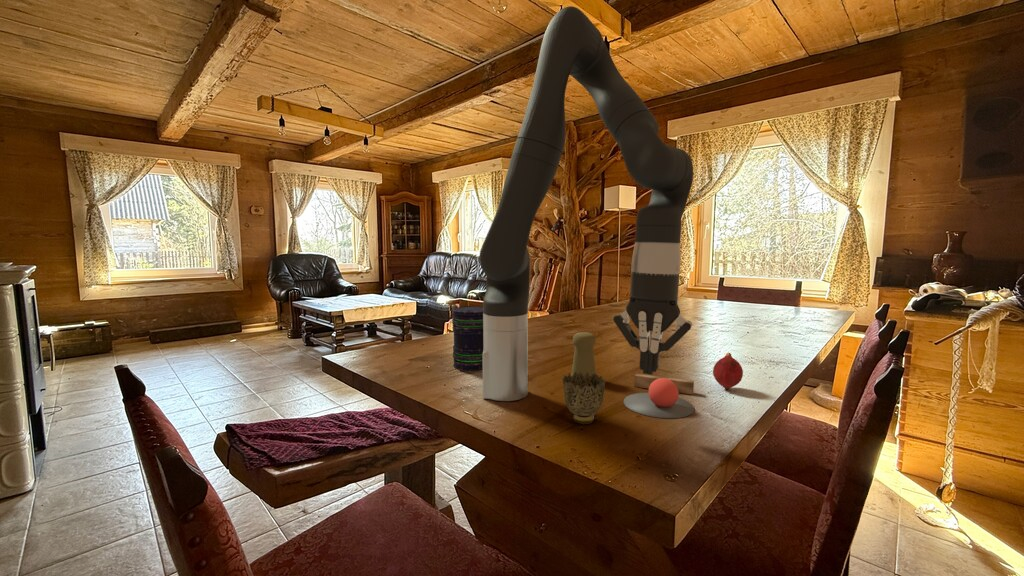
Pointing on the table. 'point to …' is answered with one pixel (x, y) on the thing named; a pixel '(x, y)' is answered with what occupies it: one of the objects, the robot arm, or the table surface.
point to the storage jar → (468, 338)
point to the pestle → (583, 353)
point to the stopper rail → (681, 384)
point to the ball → (663, 392)
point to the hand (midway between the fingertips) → (648, 372)
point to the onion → (727, 371)
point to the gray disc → (657, 407)
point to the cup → (583, 395)
